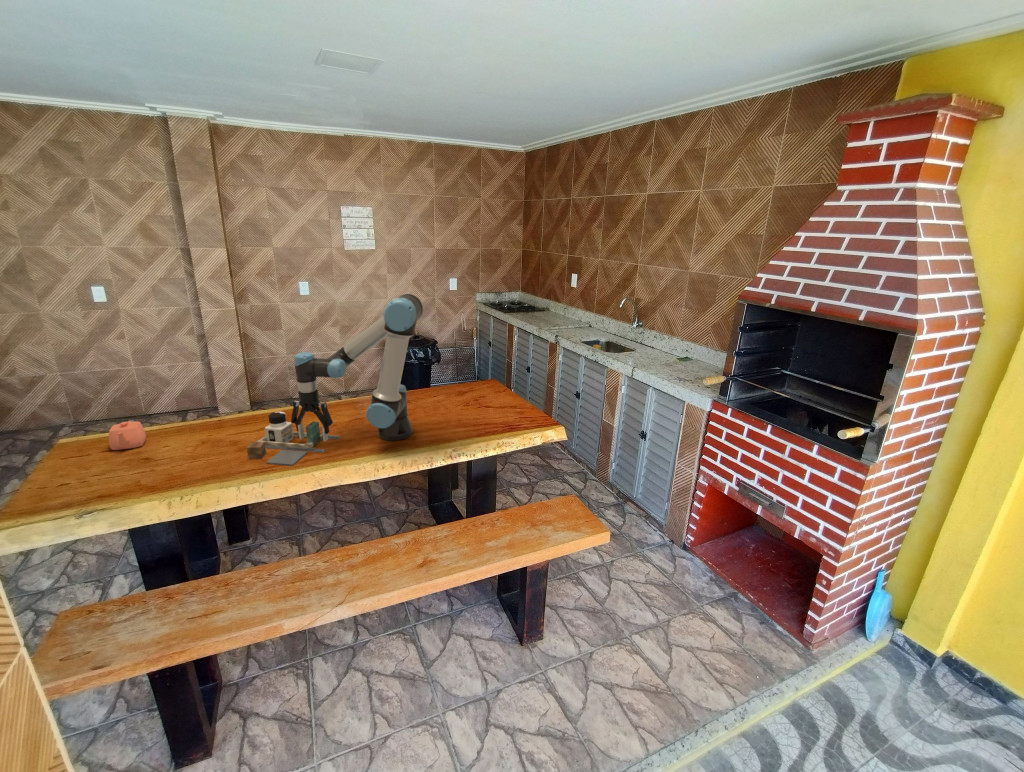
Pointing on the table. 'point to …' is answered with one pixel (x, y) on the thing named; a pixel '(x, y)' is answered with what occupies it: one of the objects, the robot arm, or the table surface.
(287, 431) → the container
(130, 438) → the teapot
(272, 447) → the lanes
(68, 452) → the table surface
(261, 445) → the walnut cube
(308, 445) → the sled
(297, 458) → the coaster
